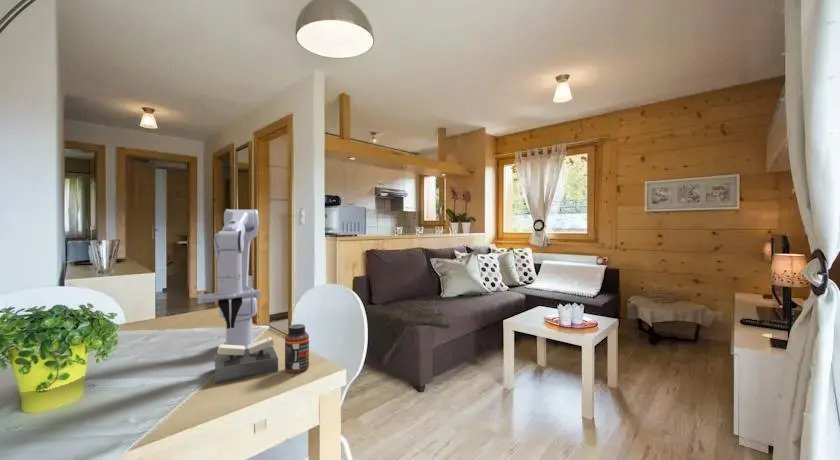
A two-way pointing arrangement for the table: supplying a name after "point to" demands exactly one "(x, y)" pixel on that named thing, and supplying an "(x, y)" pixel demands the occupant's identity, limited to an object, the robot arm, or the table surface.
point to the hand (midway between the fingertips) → (230, 327)
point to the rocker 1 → (231, 349)
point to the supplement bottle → (296, 349)
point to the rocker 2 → (260, 345)
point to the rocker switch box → (245, 365)
